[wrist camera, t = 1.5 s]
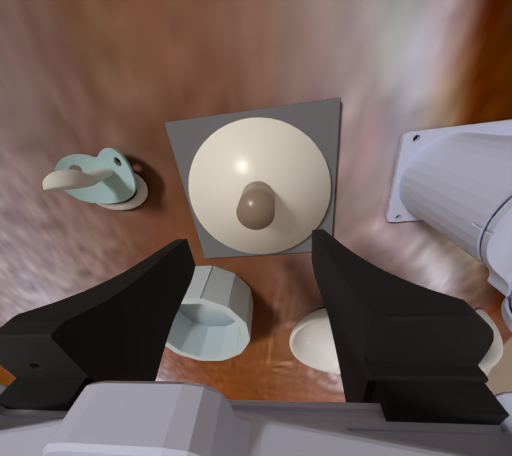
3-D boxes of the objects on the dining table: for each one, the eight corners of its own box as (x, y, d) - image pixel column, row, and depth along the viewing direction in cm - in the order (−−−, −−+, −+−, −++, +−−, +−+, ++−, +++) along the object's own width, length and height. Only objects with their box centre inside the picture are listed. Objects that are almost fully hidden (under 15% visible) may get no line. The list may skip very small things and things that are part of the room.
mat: (338, 98, 16) (340, 97, 16) (329, 248, 23) (331, 250, 22) (167, 122, 18) (164, 122, 17) (206, 255, 24) (205, 258, 24)
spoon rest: (290, 347, 33) (295, 403, 26) (284, 293, 27) (288, 348, 21) (459, 344, 29) (510, 407, 23) (492, 282, 24) (571, 342, 18)
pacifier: (162, 202, 22) (135, 141, 19) (126, 235, 16) (81, 157, 13) (100, 211, 23) (65, 155, 20) (48, 245, 17) (-11, 174, 14)
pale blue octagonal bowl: (246, 263, 25) (240, 296, 20) (257, 324, 30) (254, 360, 25) (158, 268, 26) (135, 300, 22) (184, 325, 31) (169, 360, 27)
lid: (333, 106, 16) (350, 105, 12) (326, 247, 22) (336, 273, 19) (172, 128, 17) (146, 132, 14) (208, 254, 24) (197, 279, 20)
